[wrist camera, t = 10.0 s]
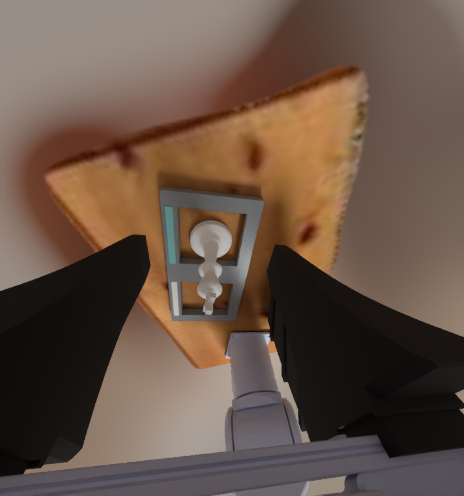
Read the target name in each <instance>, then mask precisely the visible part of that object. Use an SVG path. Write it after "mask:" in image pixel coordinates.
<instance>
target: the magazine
mask: <svg viewBox="0 0 464 496" xmlns="http://www.w3.org/2000/svg"><path fill="white" fill-rule="evenodd" d="M268 322H269V326H270V335H269V336H270V339H271V341H274V343H275V346H276V349H277V352H278V355H279V358H280V361H281V364H282V378H283V381H284V382H288V383H289V387H290V389H291V392H292V395H293V398H294V400H295V402H296V405H297V408H298V417H299V425H300V428H301V430H302V432H303V431H307V429H306V422H305V416H304V410H303V405H302V399H301V394H300V388H299V384H298V379H297V374H296V369H295V364H294V360H293V356H292V352H291V348H290V344H289V340H288V336H287V332H286V329H285V325H284V322H283V319H282V317H281V314H280V312H279V309H278V306H277V304H276V301H275V298H274V296H273V293H272V290H271V298H270V307H269V317H268Z"/></svg>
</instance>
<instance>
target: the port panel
mask: <svg viewBox="0 0 464 496" xmlns="http://www.w3.org/2000/svg"><path fill="white" fill-rule="evenodd" d="M159 195H160V205H161V215H162V225H163V235H164V245H165V255H166V265H167V275H168V285H169V295H170V306H171V316H172V321H236V317H237V313H238V309H239V305H240V301H241V297H242V292H243V288H244V284H245V280H246V276H247V272H248V268H249V264H250V260H251V256H252V252H253V248H254V243H255V239H256V235H257V231H258V227H259V223H260V219H261V215H262V211H263V207H264V203H265V201H264V199H263V198H262V197H253V196H245V195H236V194H227V193H218V192H209V191H200V190H192V189H183V188H174V187H165V186H162V187H161V188H160V189H159ZM179 207H181V208H191V209H202V210H212V211H222V212H232V213H243V214H245V215H244V221H243V226H242V232H241V237H240V242H239V248H238V253H237V258H236V261H235V260H216V262H217V263H219V264H220V265H221V267H222V273H221V275H220V276H219V277H218V280H219V282H220V283H232V285H231V290H230V296H229V301H228V306H227V309H213V312H212V314H211V315H208V314H205V312H203V309H200V308H183V296H182V282H200V281H201V280H202V277H201V276H200V274H199V270H198V269H199V266H200V265H201V264H202V263H204V262H205V259H199V258H181V242H180V215H179Z"/></svg>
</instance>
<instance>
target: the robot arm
mask: <svg viewBox="0 0 464 496" xmlns="http://www.w3.org/2000/svg"><path fill="white" fill-rule="evenodd" d="M150 266H151V265H150V259H149V253H148V247H147V241H146V235H134V234H133V235H130V236H128V237H126V238H124V239H122V240H120V241H118V242H116V243H114V244H112V245H110V246H108V247H106V248H104V249H103V250H101V251H99V252H97V253H95V254H93V255H91V256H88V257H86V258H84V259H82V260H80V261H78V262H76V263H73V264H71V265H69V266H67V267H64V268H62V269H60V270H57V271H55V272H52V273H50V274H47V275H45V276H42V277H40V278H37V279H34V280H31V281H29V282H26V283H23V284H20V285H17V286H14V287H11V288H8V289H5V290H2V291H0V496H213V495H219V494H226V493H233V495H234V496H305V495H306V492H307V490H308V487H309V481H314V480H321V479H327V478H334V477H341V476H347V477H346V478H345V489H344V491H343V492H341V493H332V494H324V495H317V496H464V414H463V413H462V412H461V411H460V410H459V409H462V408H464V403H463V402H462V401H461V400H460V399H459V398H458V396H457V395H456V394H455V393H457V392H459V391H461V390H463V389H464V337H462V336H459V335H456V334H454V333H451V332H449V331H446V330H443V329H441V328H438V327H435V326H433V325H430V324H427V323H425V322H422V321H419V320H417V319H415V318H412V317H410V316H408V315H405V314H403V313H400V312H398V311H395V310H394V309H391V308H389V307H387V306H385V305H382V304H380V303H378V302H376V301H374V300H372V299H370V298H368V297H366V296H364V295H362V294H360V293H358V292H356V291H355V290H353V289H351V288H349V287H348V286H346V285H344V284H342V283H340V282H339V281H337V280H335V279H334V278H332V277H331V276H329V275H328V274H326V273H325V272H323V271H322V270H320V269H319V268H317V267H316V266H314V265H313V264H311V263H310V262H309V261H307V260H306V259H304V258H303V257H302V256H300V255H299V254H298V253H296V252H295V251H293V250H292V249H290V248H289V247H287V246H285V245H275V247H274V250H273V253H272V256H271V259H270V262H269V265H268V269H267V275H268V280H269V284H270V287H271V290H272V293H273V296H274V298H275V301H276V304H277V306H278V309H279V312H280V314H281V317H282V319H283V322H284V325H285V329H286V332H287V336H288V340H289V344H290V348H291V352H292V356H293V360H294V364H295V369H296V374H297V379H298V384H299V388H300V394H301V399H302V405H303V410H304V416H305V422H306V429H307V433H308V436H309V439H310V442H308V443H303V442H302V439H301V434H300V431H299V427H298V423H297V420H296V417H295V413H294V410H293V407H292V405H291V403H290V402H289V401H288V400H287V399H286V398H281V394H280V392H279V391H278V387H277V384H276V379H275V375H274V371H273V367H272V363H271V359H270V355H269V351H268V347H267V345H268V342H269V340H270V336H269V335H270V332H232V333H231V335H230V339H229V343H228V347H227V352H226V358H227V359H230V362H231V375H232V389H233V394H234V400H232V407H230V408H229V409H228V411H227V413H226V417H225V443H226V452H218V453H210V454H200V455H191V456H182V457H173V458H164V459H155V460H146V461H138V462H128V463H119V464H111V465H102V466H93V467H84V468H75V469H66V470H57V471H48V472H39V473H30V474H24V472H25V470H26V469H36V468H41V467H42V466H43V465H45V464H54V463H63V462H68V461H69V460H71V459H72V458H73V457H74V456H75V455H76V454H77V453H78V452H79V451H80V450H81V449H82V447H83V443H84V440H85V436H86V433H87V429H88V426H89V423H90V420H91V416H92V413H93V410H94V407H95V403H96V400H97V397H98V394H99V391H100V388H101V385H102V382H103V379H104V376H105V373H106V370H107V367H108V365H109V361H110V359H111V356H112V353H113V351H114V348H115V345H116V342H117V340H118V337H119V335H120V332H121V330H122V327H123V325H124V323H125V321H126V319H127V316H128V315H129V313H130V311H131V309H132V307H133V305H134V303H135V301H136V299H137V297H138V295H139V293H140V291H141V289H142V287H143V285H144V283H145V281H146V278H147V275H148V272H149V269H150Z"/></svg>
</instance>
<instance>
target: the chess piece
mask: <svg viewBox="0 0 464 496" xmlns="http://www.w3.org/2000/svg"><path fill="white" fill-rule="evenodd" d="M190 244H191V247H192V249H193V250H194V252H195V253H197V254H198V255H199V256H201V257H204V258H205V262H204V263H202V264H201V265H200V266H199V269H198V270H199V274H200V276H201V277H202V280H201V281H200V283H199V285H198V287H197V293H198V294H199V296H201V297H202V298H205V299H206V302H205V304H204V306H203V312H205V314H208V315H211V314H212V312H213V303H214V301H215V299H216V298H217V297H218V296H219V295H220V294H221V293H222V286H221V283H220V282H219V280H218V277H219V276H220V275H221V273H222V267H221V265H220V264H219V263H217V262H216V260H217V258H219V257H221V256H223V255H225V254H226V253H227V252H228V251H229V249H230V247H231V244H232V235H231V232H230V230H229V229H228V227H227V226H225V225H224V224H223V223H221V222H218V221H213V220H208V221H203V222H201V223H199V224H197V225H196V226H195V227H194V228H193V230H192V231H191V234H190Z"/></svg>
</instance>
